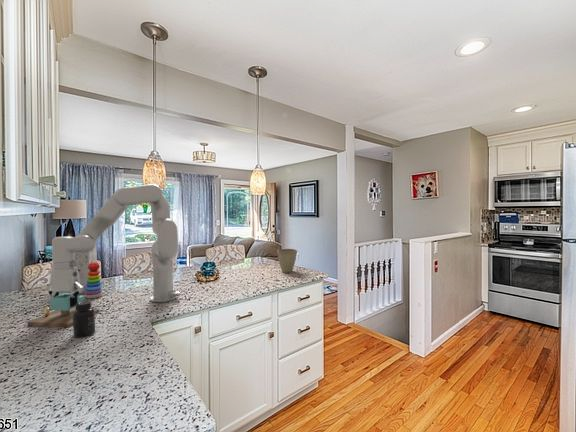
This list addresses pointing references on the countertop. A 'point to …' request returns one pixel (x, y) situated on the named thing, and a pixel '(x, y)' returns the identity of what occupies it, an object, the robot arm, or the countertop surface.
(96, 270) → the stacking toy
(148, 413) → the countertop surface
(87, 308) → the supplement bottle
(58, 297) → the teal square scoop
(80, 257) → the cereal box
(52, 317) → the post base
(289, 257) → the plant pot
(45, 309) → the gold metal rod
